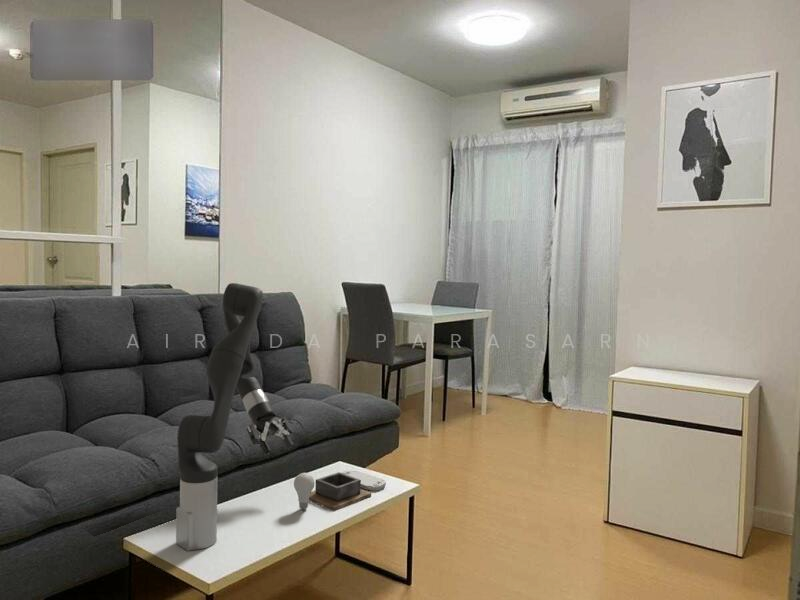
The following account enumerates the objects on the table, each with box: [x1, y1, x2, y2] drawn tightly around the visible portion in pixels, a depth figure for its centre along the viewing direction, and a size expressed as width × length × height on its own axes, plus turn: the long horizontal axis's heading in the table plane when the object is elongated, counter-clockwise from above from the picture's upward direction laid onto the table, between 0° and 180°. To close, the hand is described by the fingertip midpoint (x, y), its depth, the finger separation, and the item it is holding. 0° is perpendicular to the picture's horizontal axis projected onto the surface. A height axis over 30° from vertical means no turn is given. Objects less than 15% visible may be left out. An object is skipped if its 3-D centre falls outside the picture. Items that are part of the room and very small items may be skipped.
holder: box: [309, 472, 372, 511], centre depth 192 cm, size 16×14×6 cm
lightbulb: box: [293, 472, 316, 510], centre depth 182 cm, size 6×6×11 cm
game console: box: [340, 470, 387, 492], centre depth 205 cm, size 18×2×8 cm
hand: (280, 450), depth 189 cm, fingers open, 8 cm apart
